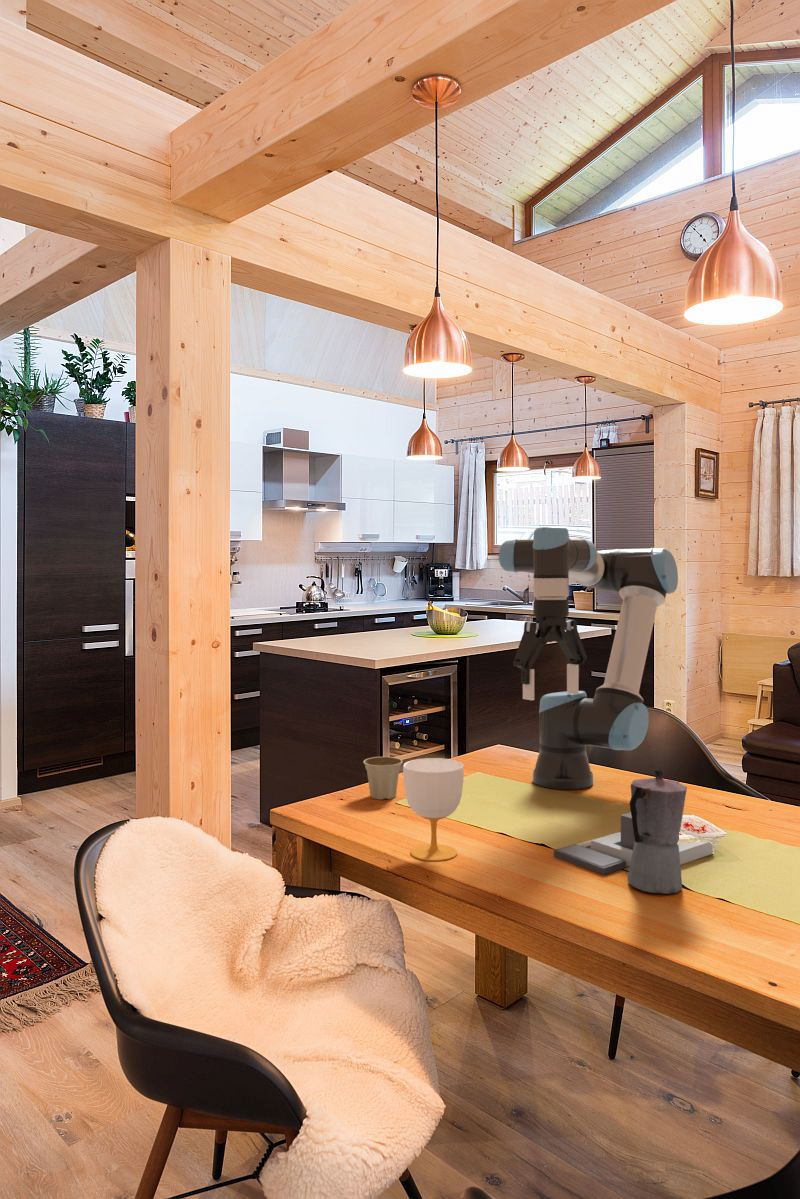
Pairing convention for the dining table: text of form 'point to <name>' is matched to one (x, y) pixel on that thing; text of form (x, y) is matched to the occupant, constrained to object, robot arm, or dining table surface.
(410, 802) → the cup
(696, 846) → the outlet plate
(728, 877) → the dining table surface
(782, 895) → the dining table surface
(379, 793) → the flower pot
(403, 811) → the dining table surface
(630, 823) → the charger block
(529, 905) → the dining table surface
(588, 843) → the cable
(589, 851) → the phone
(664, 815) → the moka pot
